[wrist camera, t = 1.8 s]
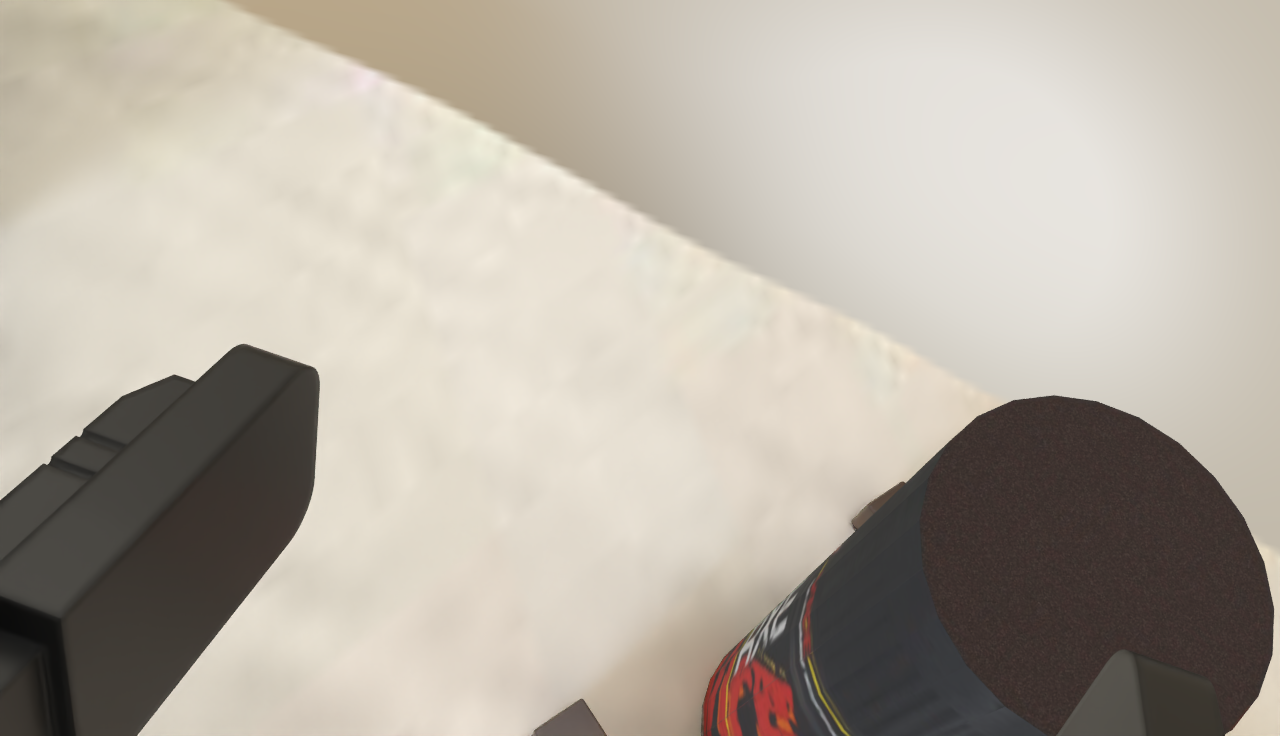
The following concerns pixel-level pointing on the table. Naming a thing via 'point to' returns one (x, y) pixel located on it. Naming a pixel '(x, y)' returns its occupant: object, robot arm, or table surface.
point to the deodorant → (1011, 589)
